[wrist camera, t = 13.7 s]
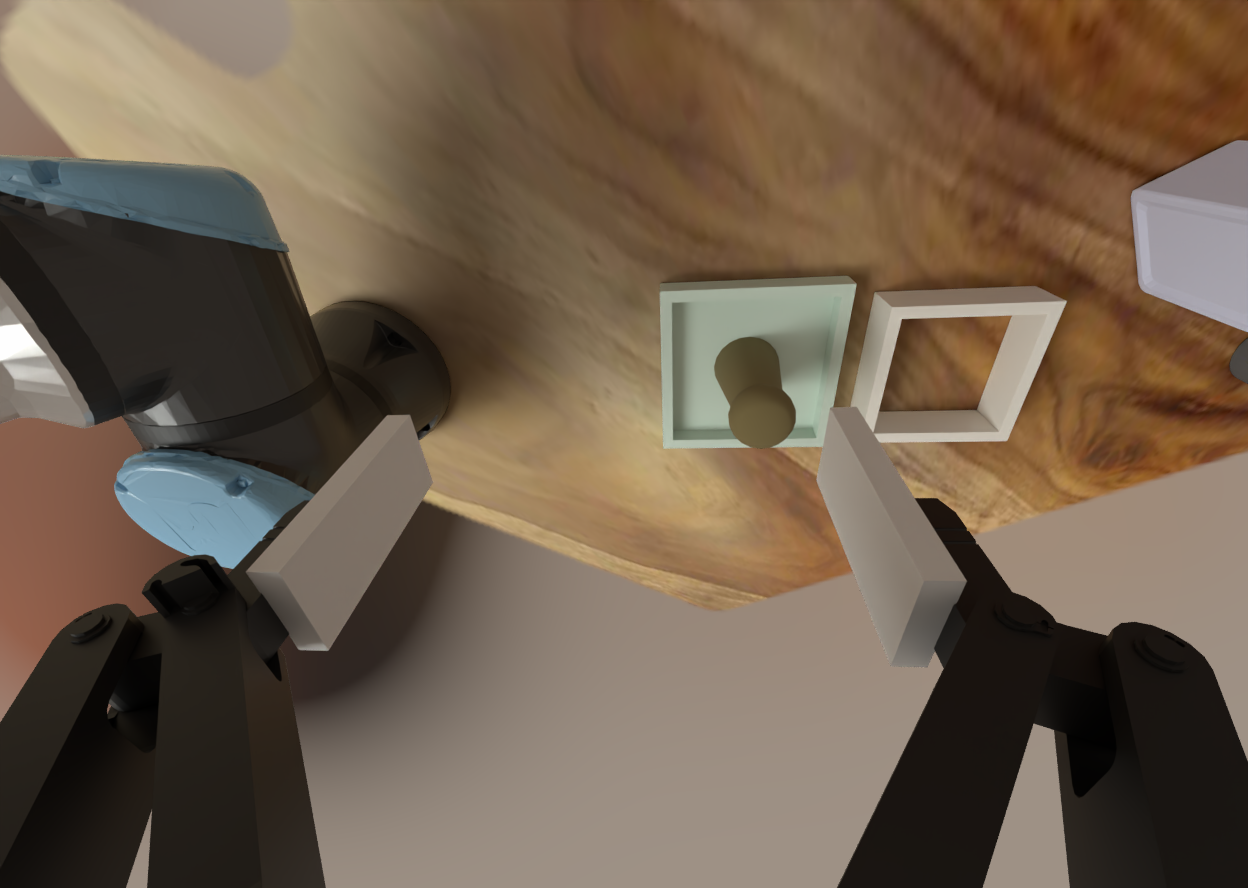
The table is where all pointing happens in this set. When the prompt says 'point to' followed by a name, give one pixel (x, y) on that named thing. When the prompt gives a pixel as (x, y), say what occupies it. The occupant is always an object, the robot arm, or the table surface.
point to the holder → (1007, 379)
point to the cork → (754, 392)
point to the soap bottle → (1197, 235)
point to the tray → (763, 308)
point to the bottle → (1240, 362)
